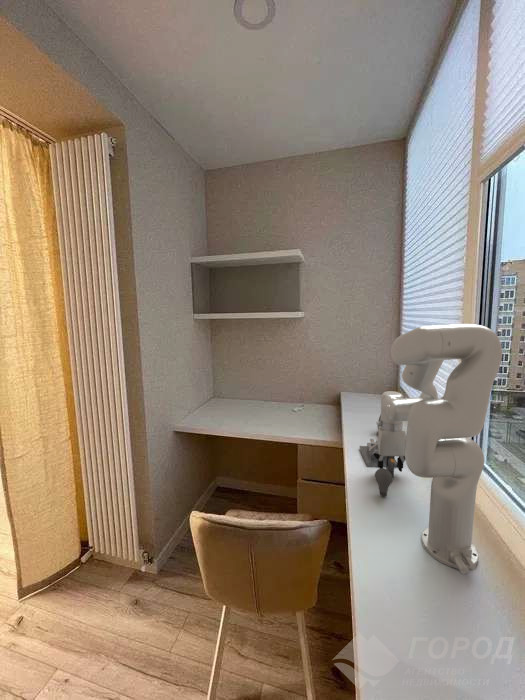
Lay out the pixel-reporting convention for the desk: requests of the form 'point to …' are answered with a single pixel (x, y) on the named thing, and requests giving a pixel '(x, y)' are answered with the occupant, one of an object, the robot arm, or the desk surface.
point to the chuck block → (372, 456)
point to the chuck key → (390, 464)
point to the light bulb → (383, 480)
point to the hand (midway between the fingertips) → (390, 468)
